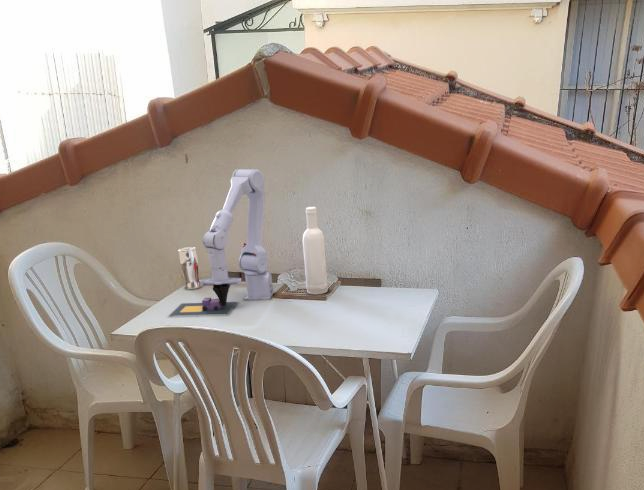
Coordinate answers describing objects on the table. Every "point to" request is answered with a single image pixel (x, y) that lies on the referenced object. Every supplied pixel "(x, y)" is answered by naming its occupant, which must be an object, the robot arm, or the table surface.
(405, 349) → the table surface
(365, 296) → the table surface
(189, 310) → the play mat
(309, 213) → the bottle
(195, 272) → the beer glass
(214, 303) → the toy truck
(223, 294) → the robot arm
